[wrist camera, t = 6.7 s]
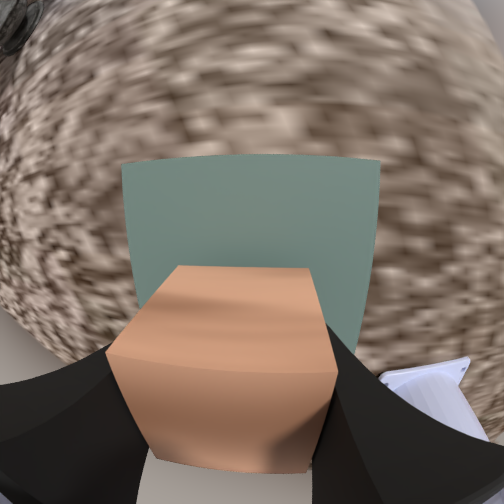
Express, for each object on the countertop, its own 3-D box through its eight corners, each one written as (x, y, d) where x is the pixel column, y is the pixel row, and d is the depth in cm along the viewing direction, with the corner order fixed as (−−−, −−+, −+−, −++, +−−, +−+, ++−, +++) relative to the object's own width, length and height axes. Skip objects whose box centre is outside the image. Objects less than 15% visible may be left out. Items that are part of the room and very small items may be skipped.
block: (298, 368, 10) (305, 472, 6) (192, 362, 11) (156, 458, 6) (308, 268, 9) (337, 372, 4) (178, 265, 9) (105, 352, 5)
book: (334, 370, 15) (341, 399, 13) (174, 363, 16) (161, 390, 13) (360, 160, 11) (380, 160, 9) (147, 162, 12) (121, 164, 10)
